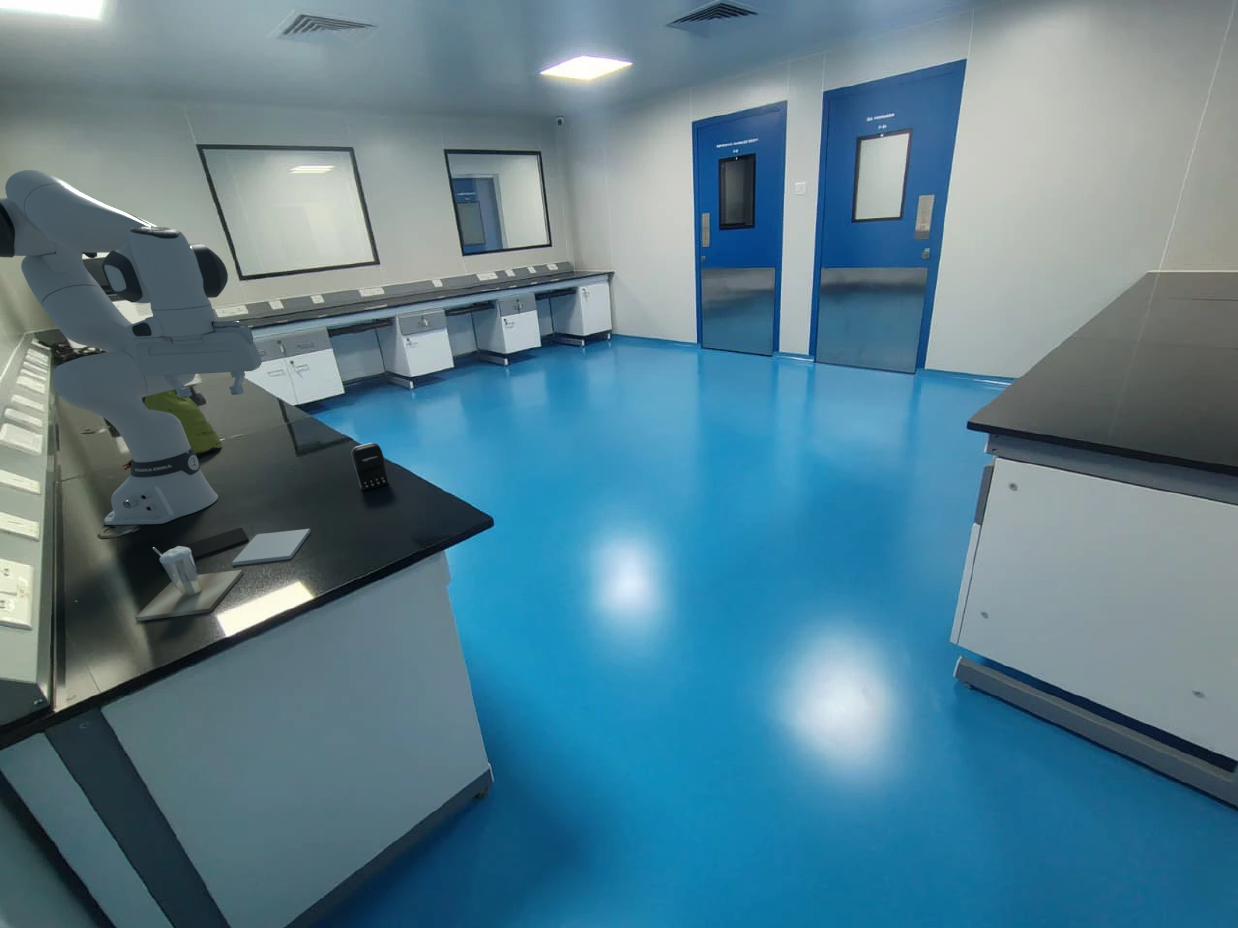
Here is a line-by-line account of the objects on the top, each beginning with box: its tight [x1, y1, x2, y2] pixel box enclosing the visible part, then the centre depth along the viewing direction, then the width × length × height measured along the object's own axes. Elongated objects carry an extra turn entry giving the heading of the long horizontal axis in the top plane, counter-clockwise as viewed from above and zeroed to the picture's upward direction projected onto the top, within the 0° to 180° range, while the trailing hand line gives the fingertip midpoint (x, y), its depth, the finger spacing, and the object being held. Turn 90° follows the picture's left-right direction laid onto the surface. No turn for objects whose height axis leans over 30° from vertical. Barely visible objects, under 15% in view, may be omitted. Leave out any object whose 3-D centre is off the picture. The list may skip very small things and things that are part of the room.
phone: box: [158, 527, 250, 571], centre depth 116 cm, size 8×1×15 cm
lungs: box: [143, 389, 222, 454], centre depth 169 cm, size 25×16×24 cm, turn 47°
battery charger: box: [351, 442, 389, 491], centre depth 139 cm, size 7×4×11 cm, turn 127°
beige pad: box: [134, 569, 244, 622], centre depth 101 cm, size 12×12×1 cm
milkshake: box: [152, 545, 202, 598], centre depth 98 cm, size 4×5×10 cm
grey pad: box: [231, 528, 312, 566], centre depth 115 cm, size 11×11×1 cm
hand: (212, 395), depth 106 cm, fingers open, 8 cm apart
